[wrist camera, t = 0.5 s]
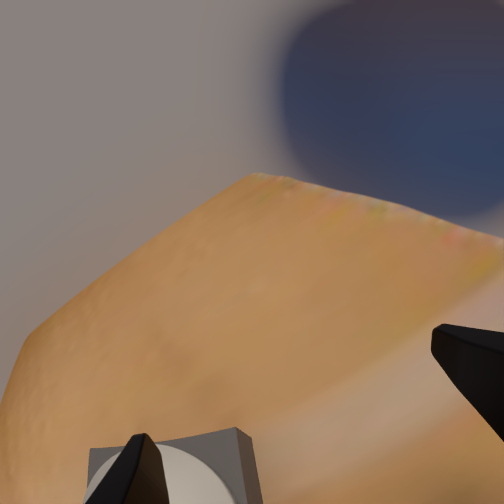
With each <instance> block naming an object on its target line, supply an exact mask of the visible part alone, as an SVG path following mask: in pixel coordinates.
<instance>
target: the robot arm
mask: <svg viewBox="0 0 504 504" xmlns="http://www.w3.org/2000/svg"><path fill="white" fill-rule="evenodd" d="M431 352H432V355H433V357H434V358H435V359H436V361H437V362H438V363H439V365H440V366H441V367H442V369H443V370H444V371H445V373H446V374H447V376H448V377H449V378H450V380H451V381H452V382H453V384H454V385H455V386H456V388H457V389H458V390H459V391H460V392H461V393H462V394H463V396H464V397H465V398H466V399H467V400H468V401H469V402H470V403H471V404H472V406H473V407H474V408H475V409H476V410H477V411H478V412H479V414H480V415H481V416H482V417H483V418H484V419H485V420H486V422H487V423H488V424H489V425H490V426H491V427H492V429H493V430H494V431H495V432H496V433H497V435H498V436H499V437H500V438H501V439H502V440H503V442H504V332H497V331H490V330H483V329H476V328H469V327H463V326H456V325H450V324H441V325H439V326H437V327H436V328H434V329H433V331H432V340H431ZM85 504H170V502H169V494H168V489H167V484H166V478H165V473H164V467H163V461H162V456H161V452H160V450H159V449H158V447H157V446H156V445H155V443H154V442H153V441H152V439H151V438H150V437H149V435H148V434H146V433H142V434H136V435H133V436H132V437H131V438H130V440H129V441H128V443H127V444H126V446H125V447H124V448H123V450H122V451H121V453H120V454H119V456H118V457H117V458H116V460H115V461H114V463H113V464H112V466H111V467H110V468H109V470H108V471H107V473H106V474H105V476H104V477H103V478H102V480H101V481H100V483H99V484H98V486H97V487H96V488H95V490H94V491H93V493H92V494H91V495H90V497H89V498H88V500H87V501H86V503H85Z"/></svg>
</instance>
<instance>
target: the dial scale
mask: <svg viewBox="0 0 504 504" xmlns="http://www.w3.org/2000/svg"><path fill="white" fill-rule="evenodd" d="M155 445H156V446H157V447H158V449H159V450H160V452H161V456H162V461H163V467H164V473H165V478H166V484H167V489H168V494H169V502H170V504H263V501H262V496H261V490H260V485H259V479H258V474H257V468H256V463H255V457H254V451H253V445H252V439H251V437H249V436H248V435H247V434H245V433H244V432H242V431H241V430H239V429H238V428H237V427H233V428H229V429H225V430H220V431H216V432H211V433H207V434H202V435H197V436H192V437H186V438H181V439H175V440H169V441H162V442H155ZM124 447H125V446H120V447H108V448H91V449H90V454H89V466H88V482H87V491H86V494H85V497H84V501H83V504H85V503H86V501H87V500H88V498H89V497H90V495H91V494H92V493H93V491H94V490H95V488H96V487H97V486H98V484H99V483H100V481H101V480H102V478H103V477H104V476H105V474H106V473H107V471H108V470H109V468H110V467H111V466H112V464H113V463H114V461H115V460H116V458H117V457H118V456H119V454H120V453H121V451H122V450H123V448H124Z"/></svg>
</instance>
